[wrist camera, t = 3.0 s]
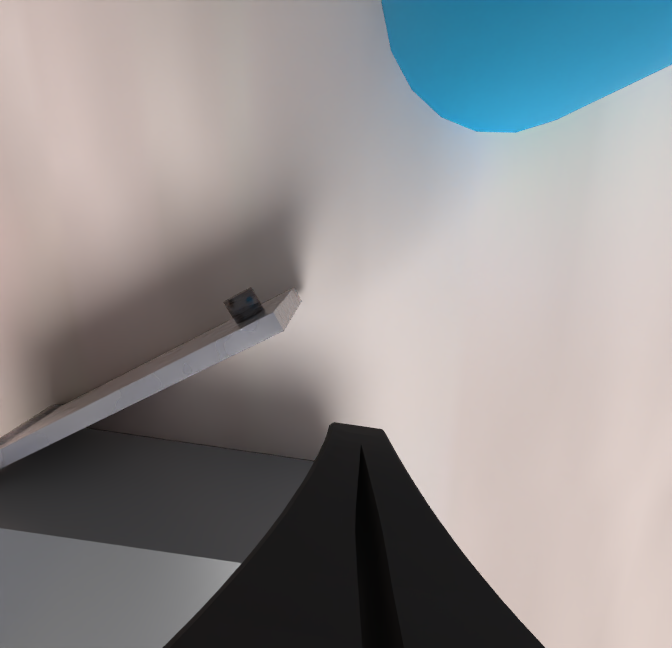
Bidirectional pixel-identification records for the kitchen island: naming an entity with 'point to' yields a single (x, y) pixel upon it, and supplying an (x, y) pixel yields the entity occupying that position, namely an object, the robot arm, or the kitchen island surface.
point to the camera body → (128, 535)
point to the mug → (524, 55)
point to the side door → (155, 373)
